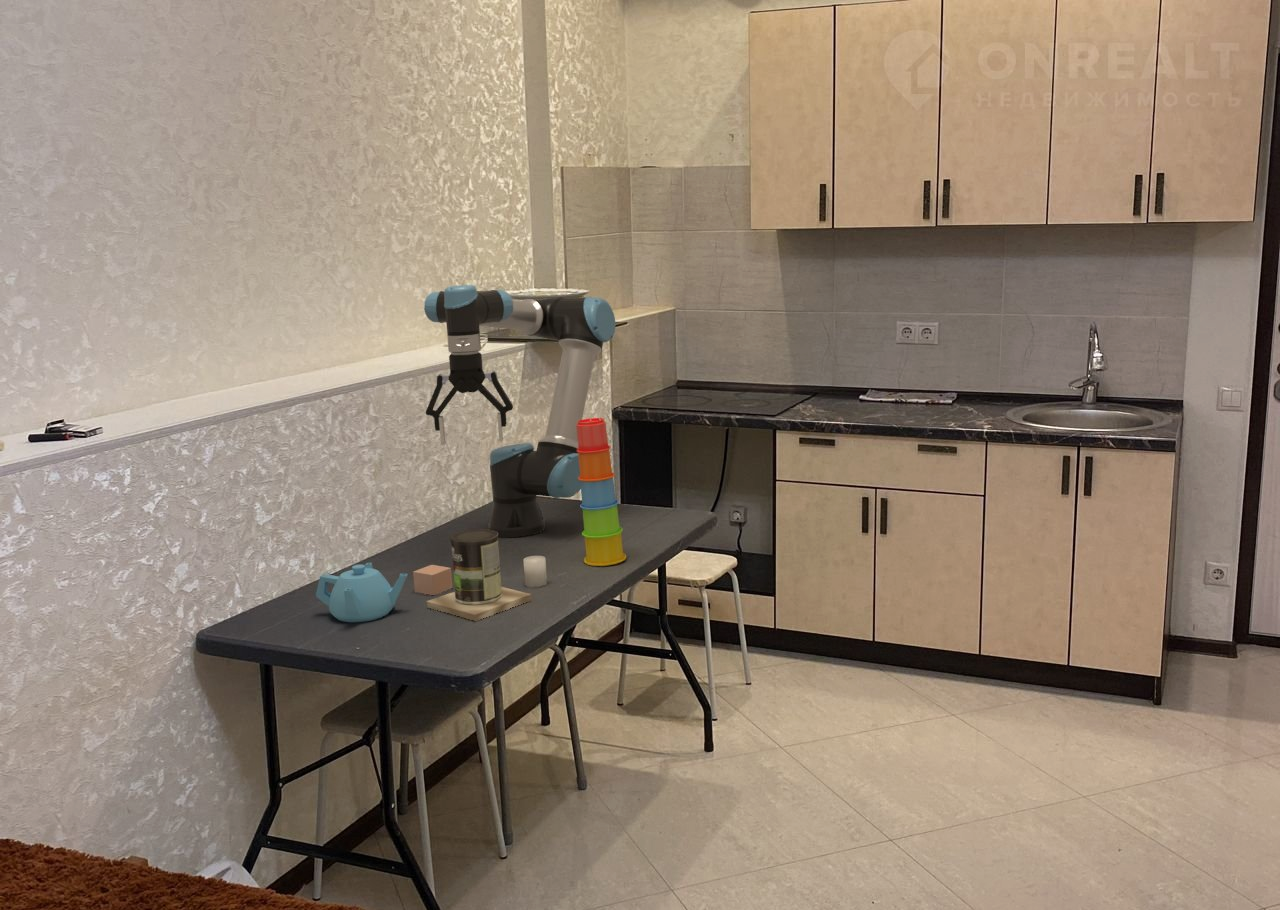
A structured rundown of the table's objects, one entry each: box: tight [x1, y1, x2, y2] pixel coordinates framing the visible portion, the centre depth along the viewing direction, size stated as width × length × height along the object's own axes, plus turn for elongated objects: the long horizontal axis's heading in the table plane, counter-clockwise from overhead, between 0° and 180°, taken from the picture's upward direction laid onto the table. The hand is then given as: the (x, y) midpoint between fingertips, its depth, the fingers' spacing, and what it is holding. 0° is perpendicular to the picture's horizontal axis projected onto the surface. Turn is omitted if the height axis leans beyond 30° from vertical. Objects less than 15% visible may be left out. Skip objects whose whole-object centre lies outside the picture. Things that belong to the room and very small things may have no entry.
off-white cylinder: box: [522, 555, 548, 588], centre depth 267 cm, size 5×5×6 cm
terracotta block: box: [412, 564, 454, 596], centre depth 266 cm, size 6×6×5 cm
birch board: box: [426, 586, 532, 622], centre depth 255 cm, size 16×16×2 cm
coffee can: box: [449, 528, 502, 605], centre depth 253 cm, size 10×10×14 cm
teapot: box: [315, 562, 408, 623], centre depth 252 cm, size 15×15×11 cm
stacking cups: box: [576, 417, 627, 567], centre depth 279 cm, size 10×10×35 cm
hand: (472, 442), depth 276 cm, fingers open, 13 cm apart
